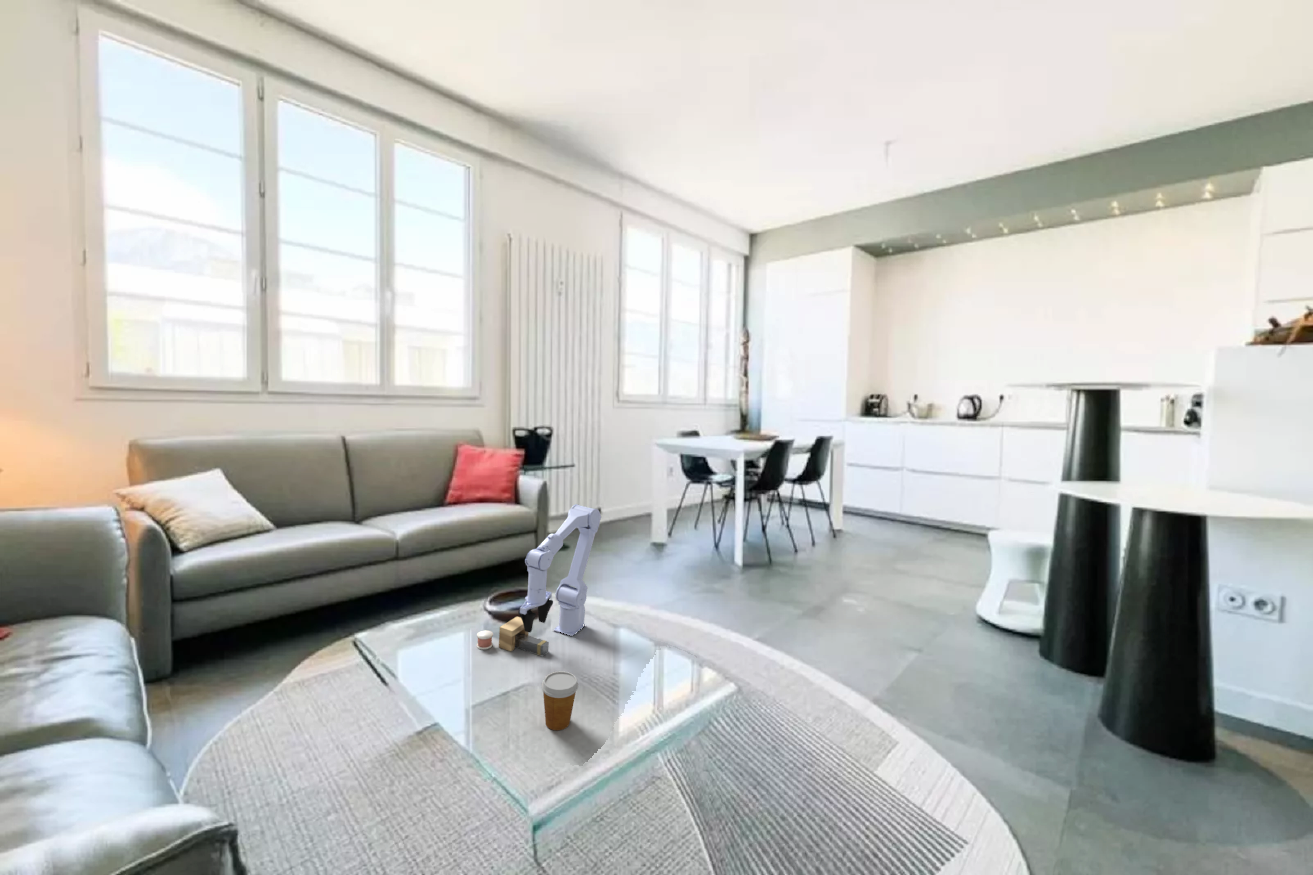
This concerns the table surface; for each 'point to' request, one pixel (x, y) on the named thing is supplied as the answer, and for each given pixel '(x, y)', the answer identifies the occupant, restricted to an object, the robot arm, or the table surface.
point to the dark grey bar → (531, 644)
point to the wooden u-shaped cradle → (510, 633)
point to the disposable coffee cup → (559, 698)
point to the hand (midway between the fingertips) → (535, 626)
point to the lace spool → (484, 639)
